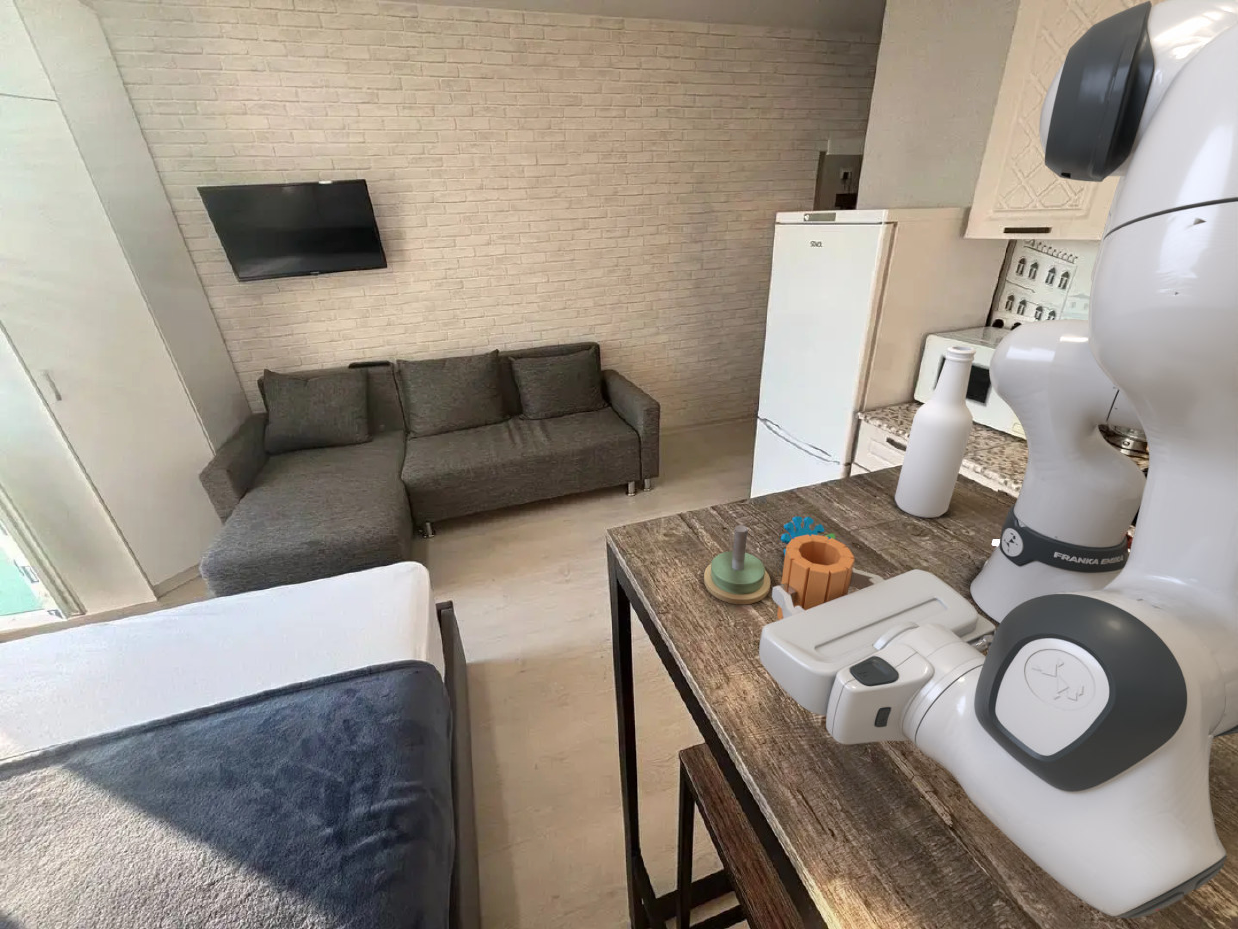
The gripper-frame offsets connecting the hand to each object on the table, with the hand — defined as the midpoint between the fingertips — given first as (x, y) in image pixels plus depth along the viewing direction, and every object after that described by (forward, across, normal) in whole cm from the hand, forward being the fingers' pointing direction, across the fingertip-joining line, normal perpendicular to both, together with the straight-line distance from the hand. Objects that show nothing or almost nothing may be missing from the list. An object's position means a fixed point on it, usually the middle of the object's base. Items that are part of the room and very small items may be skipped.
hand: (808, 579), depth 53 cm
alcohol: (+23, -49, +18) cm, 57 cm away
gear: (+18, -18, +18) cm, 31 cm away
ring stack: (+20, -6, +17) cm, 27 cm away
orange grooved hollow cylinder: (-1, 0, +5) cm, 5 cm away
